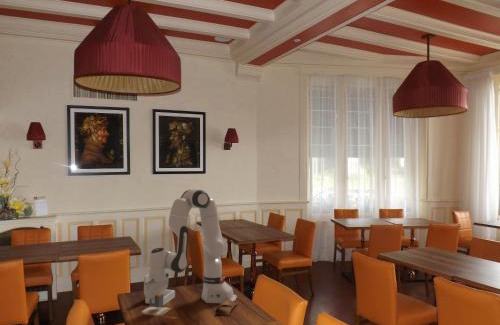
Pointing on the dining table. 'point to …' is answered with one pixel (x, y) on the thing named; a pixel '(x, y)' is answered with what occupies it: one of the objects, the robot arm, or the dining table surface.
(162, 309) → the birch board
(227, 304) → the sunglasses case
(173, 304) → the dining table surface
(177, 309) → the dining table surface
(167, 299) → the case
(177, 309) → the dining table surface
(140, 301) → the dining table surface
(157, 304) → the block
